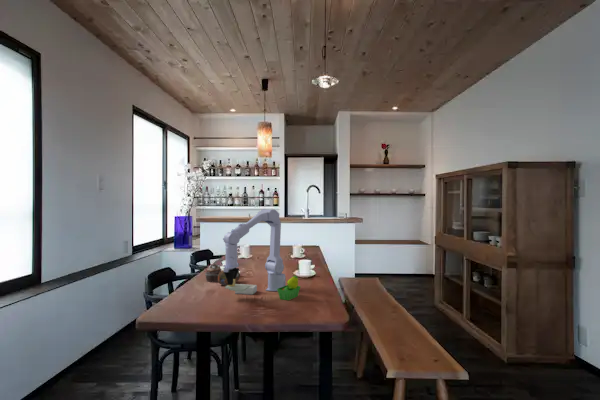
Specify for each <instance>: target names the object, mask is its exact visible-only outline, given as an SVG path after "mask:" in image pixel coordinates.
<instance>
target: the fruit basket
mask: <svg viewBox="0 0 600 400" xmlns="http://www.w3.org/2000/svg"><path fill="white" fill-rule="evenodd" d="M286 281H287V282H286V283H287V284H286V286H284V287H281V288H278V289H277V291H276V292H277V294H278V296H279V299H280V300H282V301H283V300H284V301H290V300H292V299H296V298H298V296H299V292H300V289H301V286H300V285H299V277H298V276H297V275H293V276H292V277H291V278H289V279H288V280H286Z"/></svg>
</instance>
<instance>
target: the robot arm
mask: <svg viewBox="0 0 600 400" xmlns="http://www.w3.org/2000/svg"><path fill="white" fill-rule="evenodd" d="M280 219H281V218H280V212H278V210H277V209H273V208H272V209H266V208H263V209H261V210H259V211H258V212H257V213H256V214H255V215H254V216H253V217H252V218H250V219H249V220H248V221H247V222H245V223H238V225H237V226H236V227H235V228H234V229H231V230H230V231H228V232H226V233H225V234H224V237H223V238H222V240H223V242H224V244H225V264H224V265H223V271H224V274H225V276H226V279H227V283H228V285H232V284H233V279H235V280H236V276H237V273H238V271H239V272H240V268H239V266H240V265H239V262H238V243H239V242H240V240H241V239H243V237H245V236H246V235H247V234H249V232H250V229H251V228H253V227H255V226H256V225H257V224H259V223H260V222H265V223H267V224H268V226H269V227H270V237H269V238H270V239H269V241H270V242H269V255H268V257H266V262H265V265H264V267H265V270H266V272H267V288H266V289H265V291H268V292H278V291H277V289H278V288H281V287H284V286H286V285H287V284H286V283H287V282H286V281H287V280H286V274H285V273H283V271H284V269H285V265H284V262H283V261H284V260H283V258H282V256H281V253H280V252H281V229H282V222H281V220H280Z"/></svg>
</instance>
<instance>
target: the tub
mask: <svg viewBox="0 0 600 400" xmlns="http://www.w3.org/2000/svg"><path fill="white" fill-rule="evenodd" d="M240 284H241V285H249V286H250V287H249V288H248V289H247V290H245V291H243V292H241V291H234V294H235V295H252V296H253V295H254V294H255V293H257V292H258V286H257V284H244V283H240Z"/></svg>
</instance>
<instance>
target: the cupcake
mask: <svg viewBox="0 0 600 400" xmlns="http://www.w3.org/2000/svg"><path fill="white" fill-rule="evenodd" d="M221 271H222V268H221V265H220V264H219V263H218V264H216V263H214V264H210V265H209V266H208V268H207V269H206V272H205V273H204V274H205V280H206V282H207V283H217V282H218V274H219V273H220V272H221ZM218 283H219V282H218Z"/></svg>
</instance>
